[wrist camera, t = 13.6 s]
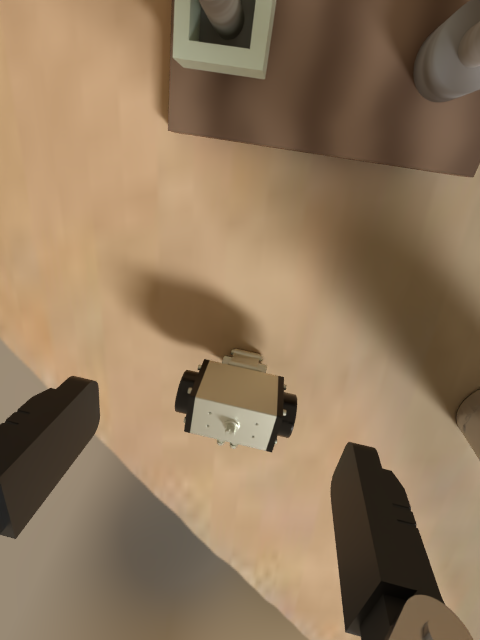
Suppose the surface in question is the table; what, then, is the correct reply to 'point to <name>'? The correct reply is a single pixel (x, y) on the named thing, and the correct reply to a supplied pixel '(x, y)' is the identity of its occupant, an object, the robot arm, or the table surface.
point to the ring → (222, 56)
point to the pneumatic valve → (236, 402)
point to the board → (344, 82)
